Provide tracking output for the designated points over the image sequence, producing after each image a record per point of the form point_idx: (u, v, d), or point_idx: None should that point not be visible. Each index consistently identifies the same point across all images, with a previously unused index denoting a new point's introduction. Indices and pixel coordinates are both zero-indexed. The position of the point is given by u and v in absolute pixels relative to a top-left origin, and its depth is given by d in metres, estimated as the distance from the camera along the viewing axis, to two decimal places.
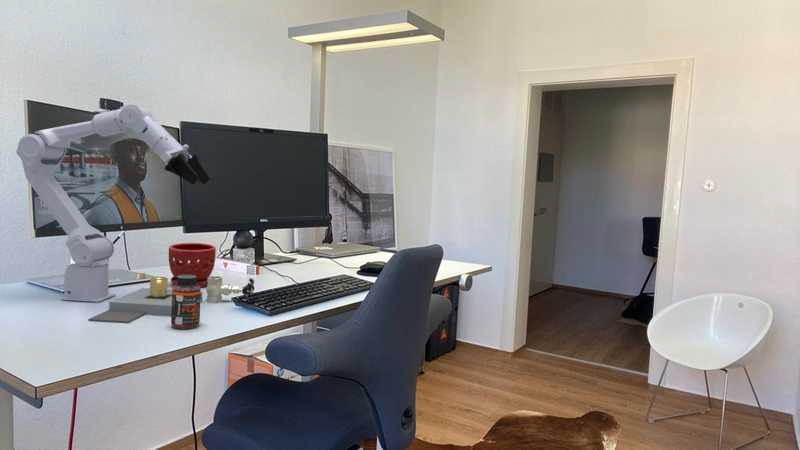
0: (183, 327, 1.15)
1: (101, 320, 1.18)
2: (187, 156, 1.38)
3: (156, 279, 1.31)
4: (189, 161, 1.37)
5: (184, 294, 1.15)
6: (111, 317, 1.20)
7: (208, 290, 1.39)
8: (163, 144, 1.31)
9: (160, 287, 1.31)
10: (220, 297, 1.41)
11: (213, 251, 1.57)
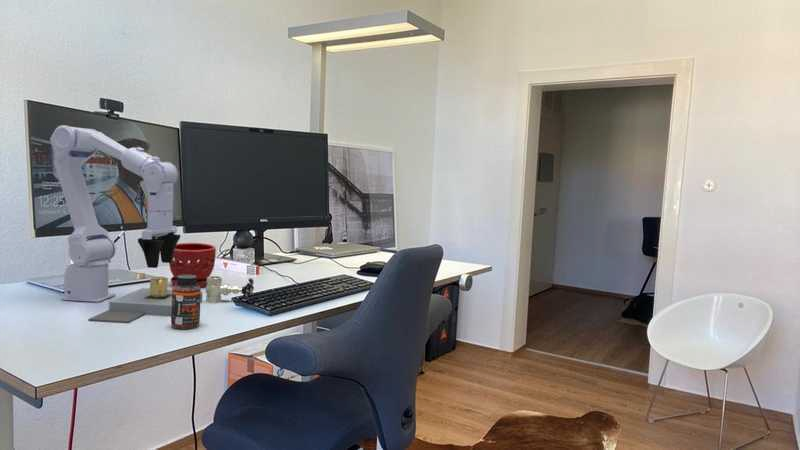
0: (183, 327, 1.15)
1: (101, 320, 1.18)
2: None
3: (156, 279, 1.31)
4: (168, 236, 1.35)
5: (184, 294, 1.15)
6: (111, 317, 1.20)
7: (207, 290, 1.39)
8: (157, 217, 1.28)
9: (160, 287, 1.31)
10: (219, 297, 1.41)
11: (213, 251, 1.57)
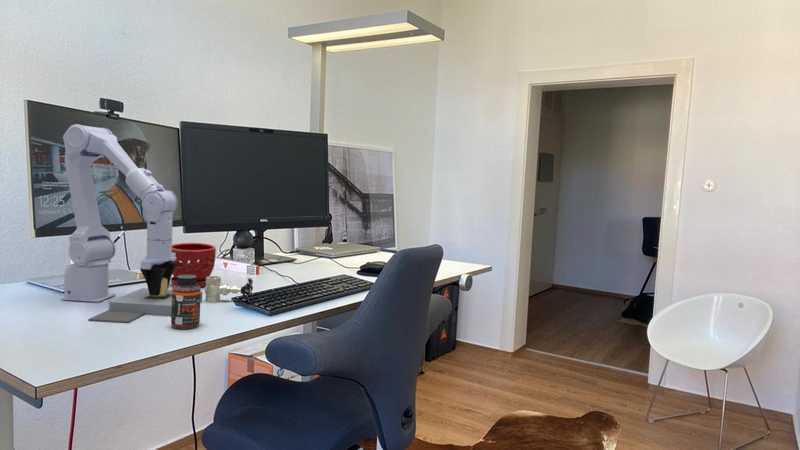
0: (183, 327, 1.15)
1: (101, 320, 1.18)
2: None
3: None
4: (165, 264, 1.34)
5: (184, 294, 1.15)
6: (111, 317, 1.20)
7: (207, 290, 1.39)
8: (157, 246, 1.29)
9: None
10: (218, 297, 1.41)
11: (213, 251, 1.57)
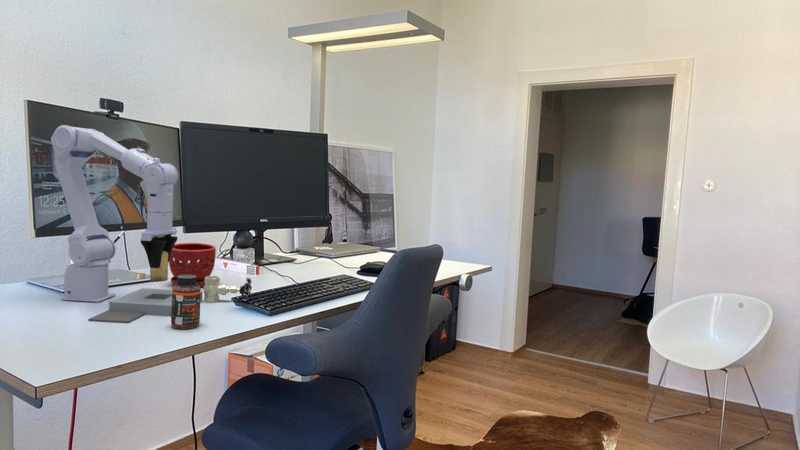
0: (183, 327, 1.15)
1: (101, 320, 1.18)
2: None
3: None
4: (165, 238, 1.34)
5: (184, 294, 1.15)
6: (111, 317, 1.20)
7: (205, 290, 1.39)
8: (157, 218, 1.28)
9: None
10: (217, 297, 1.41)
11: (213, 251, 1.57)
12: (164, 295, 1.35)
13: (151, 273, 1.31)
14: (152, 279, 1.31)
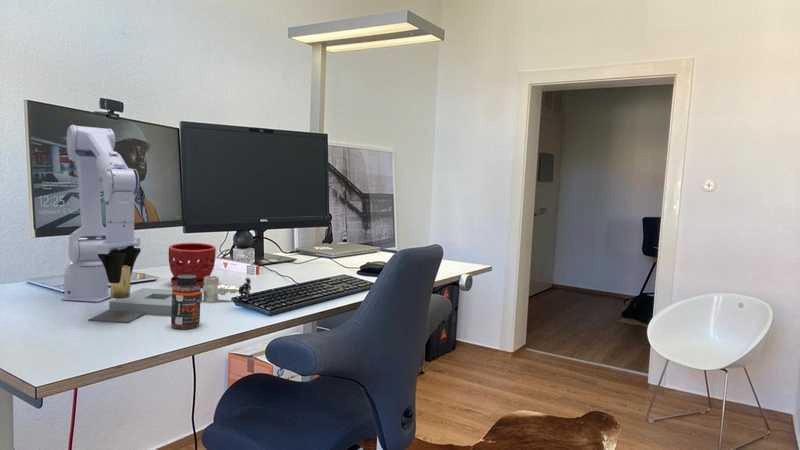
0: (183, 327, 1.15)
1: (101, 320, 1.18)
2: None
3: None
4: (127, 250, 1.23)
5: (184, 294, 1.15)
6: (111, 317, 1.20)
7: (204, 290, 1.39)
8: (116, 229, 1.18)
9: (122, 275, 1.20)
10: (216, 297, 1.41)
11: (213, 251, 1.57)
12: (164, 295, 1.35)
13: (112, 289, 1.20)
14: (113, 296, 1.20)
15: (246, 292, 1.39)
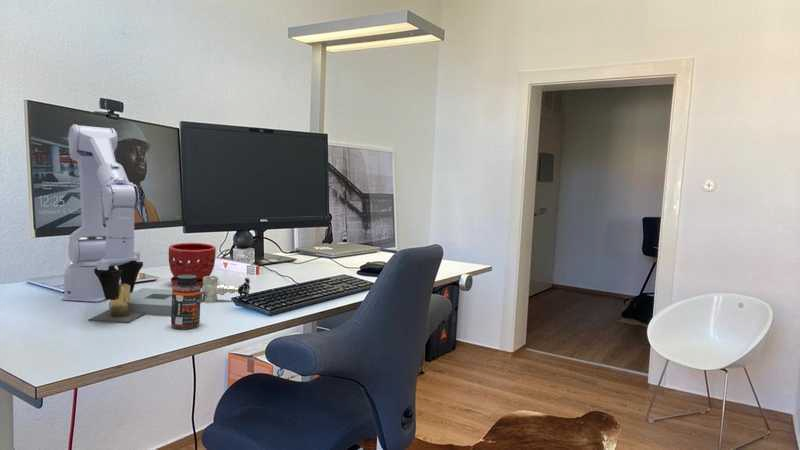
0: (183, 327, 1.15)
1: (101, 320, 1.18)
2: None
3: None
4: (129, 264, 1.25)
5: (184, 294, 1.15)
6: (111, 317, 1.20)
7: (204, 290, 1.39)
8: (116, 244, 1.18)
9: (122, 294, 1.20)
10: (216, 297, 1.41)
11: (213, 251, 1.57)
12: (164, 295, 1.35)
13: (111, 308, 1.20)
14: (113, 315, 1.20)
15: (245, 292, 1.39)
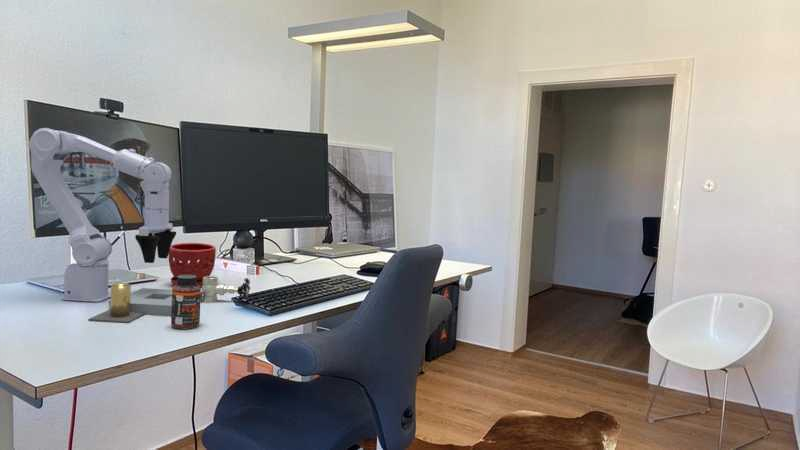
0: (183, 327, 1.15)
1: (101, 320, 1.18)
2: None
3: (118, 285, 1.20)
4: (165, 233, 1.42)
5: (184, 294, 1.15)
6: (111, 317, 1.20)
7: (203, 290, 1.39)
8: (154, 214, 1.35)
9: (122, 294, 1.20)
10: (215, 297, 1.41)
11: (213, 251, 1.57)
12: (164, 295, 1.35)
13: (112, 308, 1.20)
14: (113, 314, 1.20)
15: (244, 292, 1.39)
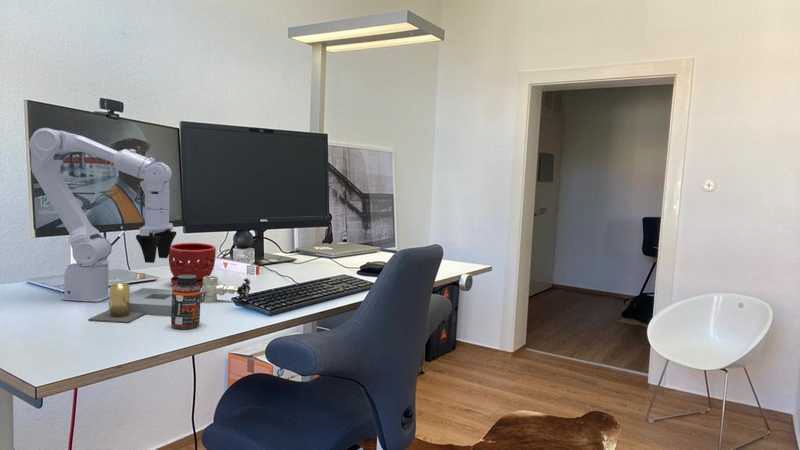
0: (183, 327, 1.15)
1: (101, 320, 1.18)
2: None
3: (116, 285, 1.20)
4: (165, 232, 1.42)
5: (184, 294, 1.15)
6: (111, 317, 1.20)
7: (203, 290, 1.39)
8: (154, 214, 1.35)
9: (121, 294, 1.20)
10: (215, 297, 1.41)
11: (213, 251, 1.57)
12: (164, 295, 1.35)
13: (111, 308, 1.20)
14: (112, 314, 1.20)
15: (244, 293, 1.39)
